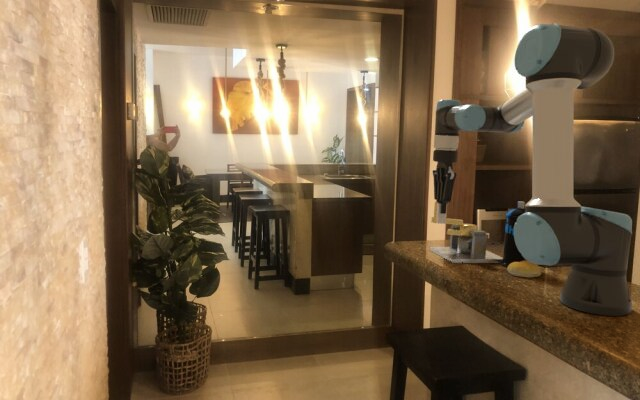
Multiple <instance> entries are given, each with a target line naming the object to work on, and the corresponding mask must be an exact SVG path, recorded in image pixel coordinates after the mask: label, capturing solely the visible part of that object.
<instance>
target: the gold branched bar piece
mask: <svg viewBox="0 0 640 400" xmlns="http://www.w3.org/2000/svg"><path fill="white" fill-rule="evenodd" d="M436 215H437V201H434V211H433V217H431V221H430V222H431V223H433V224H437V223H436ZM463 223H464V220H463V219H458V218H449V217H448V218H447V217H446V225H452V224H453V225H460V230H453V229H451V228H448V229H447V231H446V235H457V236H460V237H464V238H473V235H472V234H470V230H477V228H478V225H476V224H472V223H464V224H463ZM486 236H487V240H489V239H490V232H486Z"/></svg>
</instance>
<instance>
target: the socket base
mask: <svg viewBox="0 0 640 400" xmlns="http://www.w3.org/2000/svg"><path fill="white" fill-rule="evenodd" d="M463 224H465V222H463ZM450 229H453V230H460V225H453V224H451V226H450ZM486 233H487V232H486V231H485V230H480V229H479V230H470V234H472V235H473V238H464V237H460V236H457V235H450V236H449V246H430V248H429V251H430V252H433V253H434V254H435V253H436V254H435V255H437V254H438V255H437V256H439V255H440V256H439V257H441V256H442V257H441V258H442V259H444V258H445V260H446V259H447V260H446V261H448V260H449V261H448V262H450V261H451V262H452V263H451V262H450V263H451V264H502V262H503V256H500V255H497V254H496V253H494V252H491V251H490V250H489V251H488V250H487V242H488V239H487V236H486ZM462 262H463V263H462Z"/></svg>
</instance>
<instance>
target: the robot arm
mask: <svg viewBox="0 0 640 400" xmlns="http://www.w3.org/2000/svg"><path fill="white" fill-rule="evenodd" d="M514 53H515V55H514V67H515V68H514V69H515V70H516V71H517V73H518V74H519V75H520V76H522V77H524V78H525V89H523V90H521V91H520V92H518V93H517V94H516V95H514V96H513V97H511V98H510V99H508V100H506V102H504V103H503V104H501V105H500V106H490V105H489V106H487V105H486V106H485V105H477V104H469V103H466V104H463V105H462V102H461V100H458V99H440V100H438V101H437V103H436V108H435V109H436V110H435V120H434V121H435V122H434V124H435V126H434V136H433V148H434V150H433V151H432V152H433V155H432V161H433V162H437V164H436V168H435V169H434V170H432V177H433V196H434V197H433V198H434V200H436V201H437V215H436V223H435V224H439V225H440V224H441V225H443V224H446V218H447V210H448V204H449V203H451V202H452V197H453V191H454V185H455V180H456V178H457V172H454V171H453V170H454V167H453V163H457V162H458V157H459V155H458V154H459V152H458V151H457V149H459V143H460V138H459V137H460V132H461V131H462V132H463V131H464V132H485V133H486V132H488V133H502V134H512V133H513V134H515V133H518V132H519V131H521V130H522V127H524V124H525V121H526V120H527V119H529V118H531V117H532V143H531V144H532V149H531V150H532V153H531V154H532V164H531V167H532V168H531V169H532V170H531V172H532V173H531V174H532V175H531V180H532V181H531V182H532V183H531V186H532V187H531V188H532V191H531V194H532V197H531V199H530V200H529V201H528V202H526V203H525V205H524V209H525V213H524V214H522V215H520V216H519V217H518V218H517V222H516V223H515V225H514V239H515V243H516V246H517V248H518V250H519V252H520V253H521V254H522V256H523V257H524V258H525V259H526V260H527V261H529V262H531V263H533V264H537V265H544V266H551V267H552V266H556V265H571V266H570V272H569V273H568V276H567V278H566V280H565V282H564V284H563V288H561V291H560V295H559V301H560V303H561V304H562V305H564V306H565V307H568V308H571V309H573V310H576V311H578V312H579V311H580V312H584V313H588V314H594V315H599V316H611V317H612V316H613V317H615V316H616V317H621V316H622V317H623V316H626V315H629V314H631V313H632V309H633V308H632V306H633V301H632V298H631V294H630V290H629V289H630V288H629V285H628V282H627V281H628V280H627V273H628V265H629V257H630V251H631V242H632V235H633V231H632V230H633V229H632V227H633V220H632V219H633V218H631V216H630V215H629V214H626V213H622V212H617V211H611V210H605V209H599V208H593V207H587V206H582V205H581V204H580V203H579V202H578V201H577V200H576V199H575V197H574V150H575V149H574V147H575V146H574V141H575V139H574V136H575V135H574V134H575V133H574V129H575V128H574V127H575V124H574V122H575V121H574V119H575V118H574V117H575V116H574V114H575V113H574V112H575V107H574V106H575V103H574V102H575V101H574V98H575V97H574V96H575V95H574V94H575V93H574V92H575V91H576V90H578V91H582V90H586V89H588V88H589V87H592V86H593V85H595V84H596V83H598V82H599V81H600V80H602V79H603V78H604V77H605V76H606V75H607V74H608V73H609V71H610V69H611V67H612V66H613V63H614V60H615V47H614V45H613V42H612V41H611V39H610V38H609V37H608V36H607V34H605V33H604V32H602V31H601V30H599V29H596V28H589V27H587V28H586V27H577V26H572V25H570V26H569V25H561V24H558V23H538V24H536V25H534V26H531V27H530V28H529V29H528V30H527V31H526V32H525V33H524V34H523V35H522V37H521V39H520V40H519V42H518V45H517V47H516V49H515V52H514ZM446 225H447V224H446Z"/></svg>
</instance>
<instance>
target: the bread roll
mask: <svg viewBox="0 0 640 400" xmlns="http://www.w3.org/2000/svg"><path fill="white" fill-rule="evenodd" d="M506 269H507V272H508V273H509V274H510V276H511V275H512V276H515V277H521V278H528V279H529V278H538V277H540V276H541V275H542V270H541V267H540V266H539V264H533V263H531V262H529V261H527V260H524V261H521V262H513V263H511V264H509V266H508V267H506Z"/></svg>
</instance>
